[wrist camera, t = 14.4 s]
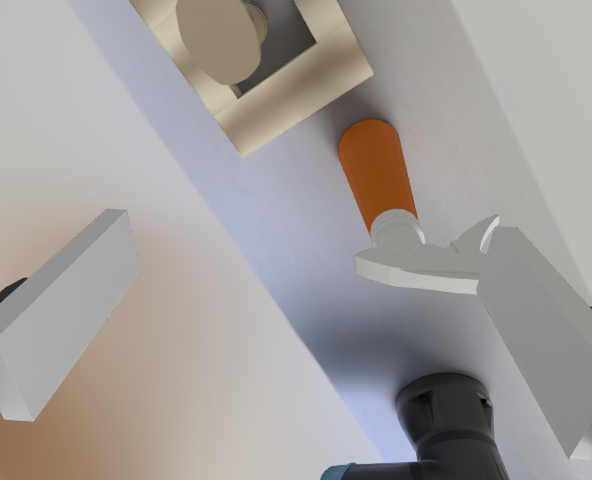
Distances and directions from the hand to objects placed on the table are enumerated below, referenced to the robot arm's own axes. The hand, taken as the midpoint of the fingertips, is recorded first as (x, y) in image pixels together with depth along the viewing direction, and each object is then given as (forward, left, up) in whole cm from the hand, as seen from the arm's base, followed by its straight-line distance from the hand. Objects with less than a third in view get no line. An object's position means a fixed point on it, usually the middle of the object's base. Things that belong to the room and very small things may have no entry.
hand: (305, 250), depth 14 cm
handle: (+6, +7, -32) cm, 34 cm away
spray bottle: (-6, -8, -32) cm, 34 cm away
